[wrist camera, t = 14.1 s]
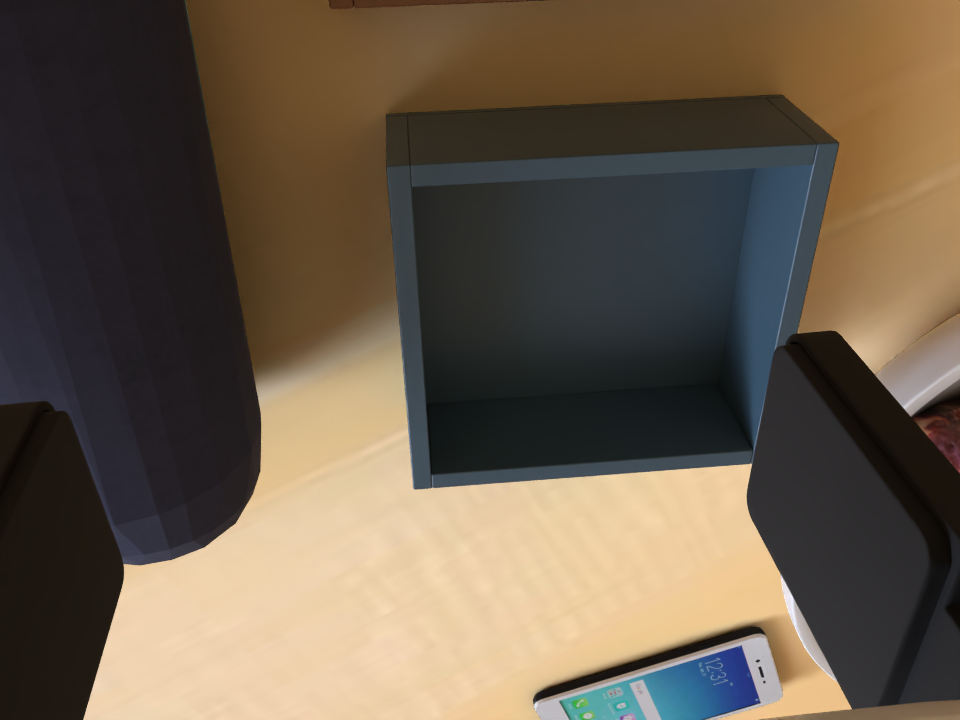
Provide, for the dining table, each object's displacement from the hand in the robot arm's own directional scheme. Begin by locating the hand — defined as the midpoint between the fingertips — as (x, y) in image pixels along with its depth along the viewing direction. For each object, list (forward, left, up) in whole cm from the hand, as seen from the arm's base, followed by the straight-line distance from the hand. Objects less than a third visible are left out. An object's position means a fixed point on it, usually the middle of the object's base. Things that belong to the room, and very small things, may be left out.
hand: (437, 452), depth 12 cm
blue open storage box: (+7, -11, -24) cm, 27 cm away
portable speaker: (-12, -6, -24) cm, 28 cm away
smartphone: (+13, -42, -24) cm, 50 cm away
